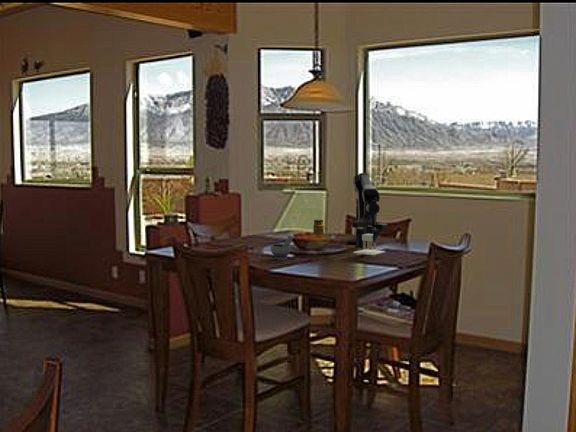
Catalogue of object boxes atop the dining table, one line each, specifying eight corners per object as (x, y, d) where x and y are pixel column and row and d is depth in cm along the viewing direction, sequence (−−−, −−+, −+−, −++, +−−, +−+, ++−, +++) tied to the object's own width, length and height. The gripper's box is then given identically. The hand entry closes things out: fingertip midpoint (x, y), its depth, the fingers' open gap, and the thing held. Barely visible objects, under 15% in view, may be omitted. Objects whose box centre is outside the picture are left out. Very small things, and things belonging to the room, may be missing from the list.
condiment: (326, 240, 404) (326, 220, 403) (314, 241, 400) (314, 221, 398) (319, 239, 410) (319, 218, 409) (307, 240, 406) (307, 219, 404)
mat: (353, 252, 360) (353, 251, 360) (366, 250, 369) (366, 249, 369) (372, 255, 352) (372, 254, 352) (385, 252, 361) (385, 251, 361)
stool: (361, 248, 360) (362, 234, 359) (367, 247, 364) (367, 233, 363) (370, 250, 356) (371, 235, 356) (376, 248, 361) (376, 234, 360)
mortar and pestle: (270, 261, 336) (270, 236, 335) (270, 257, 346) (270, 233, 344) (294, 260, 337) (294, 236, 335) (293, 257, 346) (293, 233, 345)
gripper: (345, 212, 358) (345, 242, 360) (376, 214, 346) (376, 245, 348) (358, 210, 367) (357, 239, 368) (388, 212, 355) (388, 243, 356)
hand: (369, 242), depth 360 cm, fingers closed on stool, 5 cm apart
